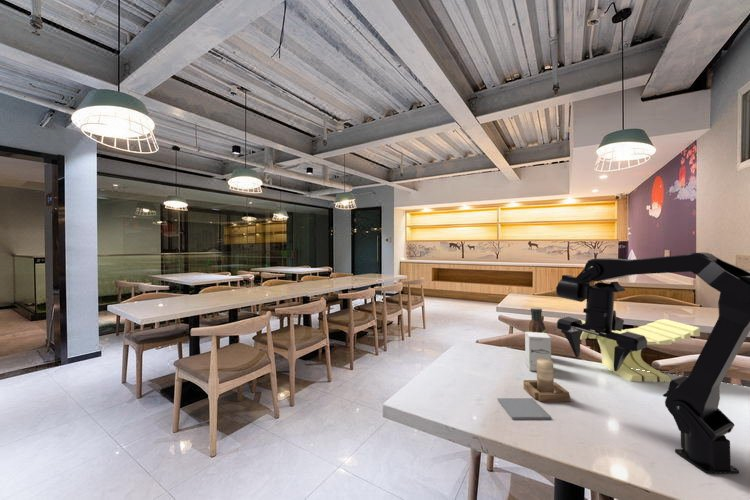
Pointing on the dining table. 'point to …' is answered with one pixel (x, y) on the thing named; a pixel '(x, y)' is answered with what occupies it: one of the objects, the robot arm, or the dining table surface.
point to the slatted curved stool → (655, 334)
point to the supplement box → (536, 348)
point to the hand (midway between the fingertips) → (595, 363)
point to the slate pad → (523, 408)
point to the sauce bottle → (536, 321)
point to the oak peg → (545, 375)
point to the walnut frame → (556, 396)
